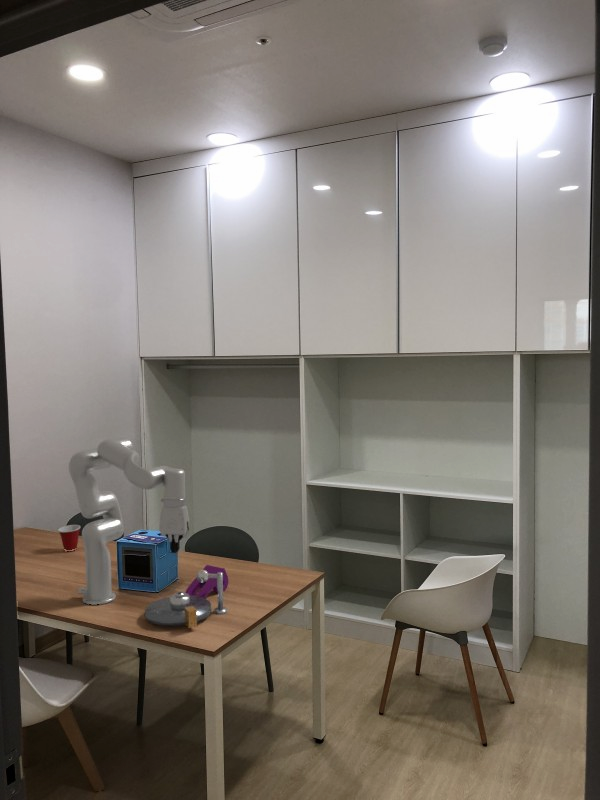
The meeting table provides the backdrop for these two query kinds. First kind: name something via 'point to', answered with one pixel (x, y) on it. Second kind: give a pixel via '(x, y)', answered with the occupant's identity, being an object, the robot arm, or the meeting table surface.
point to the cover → (179, 601)
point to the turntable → (178, 612)
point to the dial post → (203, 577)
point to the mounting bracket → (207, 583)
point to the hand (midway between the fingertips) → (174, 551)
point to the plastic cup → (69, 536)
